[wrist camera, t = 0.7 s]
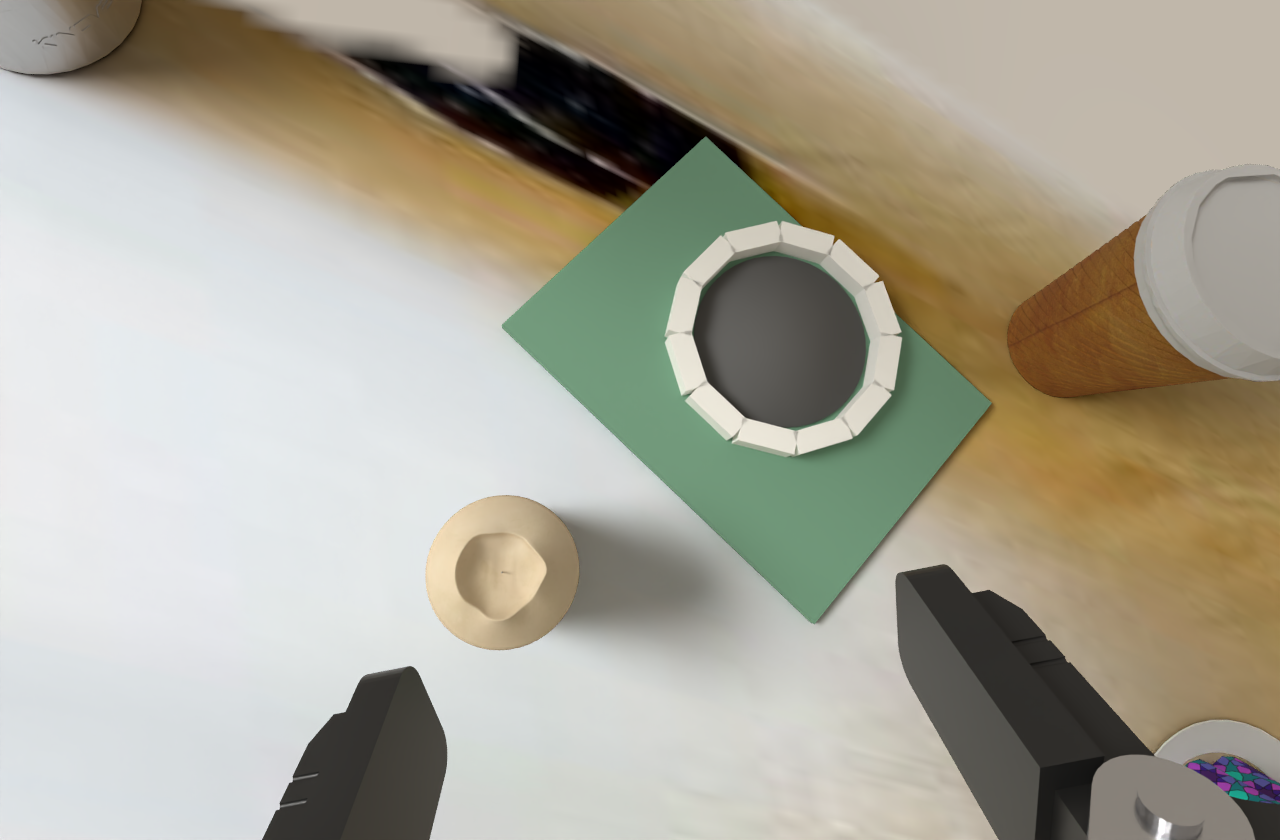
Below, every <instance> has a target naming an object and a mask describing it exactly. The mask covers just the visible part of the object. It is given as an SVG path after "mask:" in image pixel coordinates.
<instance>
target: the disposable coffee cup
mask: <svg viewBox="0 0 1280 840" xmlns="http://www.w3.org/2000/svg"><path fill="white" fill-rule="evenodd" d="M1008 347H1009V351H1010V355H1011V358H1012V361H1013V363H1014V365H1015V366H1016V368H1017V370H1018V371H1019V373H1020V374H1021V375H1022V376H1023V378H1024V379H1025V380H1026V381H1027V382H1028V383H1029V384H1031V385H1032V386H1033V387H1034V388H1036V389H1038V390H1040V391H1042V392H1043V393H1045V394H1048V395H1051V396H1055V397H1064V398H1066V397H1075V396H1083V395H1092V394H1100V393H1108V392H1116V391H1125V390H1134V389H1142V388H1150V387H1159V386H1168V385H1177V384H1185V383H1193V382H1201V381H1209V380H1219V379H1227V378H1238V379H1245V380H1250V381H1255V382H1262V381H1278V380H1280V169H1277V168H1274V167H1271V166H1268V165H1256V164H1255V165H1254V164H1245V165H1240V166H1234V167H1230V168H1227V169H1223V170H1210V171H1205V172H1200V173H1195V174H1193V175H1191V176H1188V177H1186V178H1184V179H1183V180H1181V181H1179V182H1177V183H1176V184H1175V185H1173V186H1172V187H1171V188H1170V189H1169V190H1168V191H1166V192H1165V194H1163V195H1162V196H1161V197H1160V198H1159V199H1158V200H1157V202H1156V204H1155V205H1154V206H1153V207H1152V208H1151V210H1150V211H1149V212H1148V214H1147V215H1145V216H1144V217H1143V218H1141V219H1140V220H1139V221H1137V222H1135V223H1134V224H1132V225H1131V226H1130V227H1129V228H1128V229H1125V230H1124V231H1123V232H1121V233H1120V234H1119V235H1118V236H1115V237H1114V238H1113V239H1112V240H1110V241H1109V243H1106V244H1104V245H1103V246H1102V247H1101V248H1100V249H1099V250H1096V251H1095V252H1093V253H1092V254H1091V255H1090V256H1088V257H1086V258H1085V259H1084V260H1083V261H1082V262H1079V263H1078V264H1077V265H1076V266H1074V267H1073V268H1071V269H1069V270H1068V271H1067V272H1066V273H1065V274H1063V275H1061V276H1060V277H1059V278H1058V279H1056V280H1054V281H1053V282H1052V283H1051V284H1050V285H1047V286H1046V287H1045V288H1044V289H1042V290H1040V291H1039V292H1038V293H1036V294H1035V295H1033V296H1032V297H1031V298H1029V299H1028V300H1026V301H1025V302H1023V303H1022V304H1021V305H1020V306H1019V307H1018V308H1017V310H1016V311H1015V312H1014V314H1013V316H1012V318H1011V321H1010V324H1009V328H1008Z"/></svg>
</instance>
